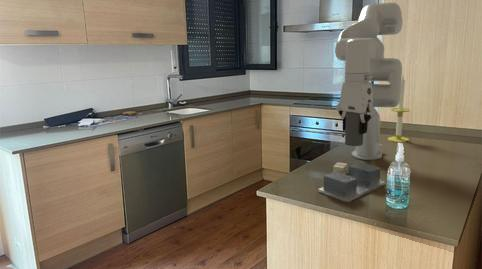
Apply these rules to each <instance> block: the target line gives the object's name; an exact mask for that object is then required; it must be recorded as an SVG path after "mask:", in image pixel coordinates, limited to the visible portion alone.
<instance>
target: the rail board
mask: <svg viewBox="0 0 482 269" xmlns="http://www.w3.org/2000/svg"><path fill="white" fill-rule="evenodd" d="M385 184H386V182H385V181H383V180H381V167H377V166H373V165H370V164H365V163H362V162H360V161H359V162H355V163H353V164H351V165H348V169H347V174H346V175H345V174H341V173H338V172H333V171H332V172H330V173H328V174H325V175H323V186H322V187H319V188H317V193H321V194H323V195H325V196H326V195H327V196H328V197H332V198H334V199H337V200H340V201H342V202H345V203H351V201H353V200H356V199H358V198H360V197H362V196H364V195H366V194H368V193H371V192H373V191H374V190H376V189H379V188H380V187H382V186H384V185H385Z"/></svg>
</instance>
